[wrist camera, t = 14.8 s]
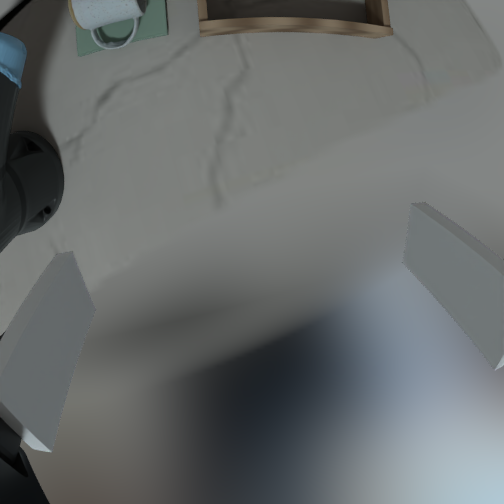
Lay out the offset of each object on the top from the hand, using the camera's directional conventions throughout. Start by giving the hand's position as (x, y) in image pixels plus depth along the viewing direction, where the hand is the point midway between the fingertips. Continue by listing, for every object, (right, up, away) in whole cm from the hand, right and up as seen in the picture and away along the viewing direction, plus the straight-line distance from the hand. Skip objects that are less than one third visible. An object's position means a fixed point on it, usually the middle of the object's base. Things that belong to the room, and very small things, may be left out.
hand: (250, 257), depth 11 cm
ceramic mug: (-16, +30, +16) cm, 38 cm away
